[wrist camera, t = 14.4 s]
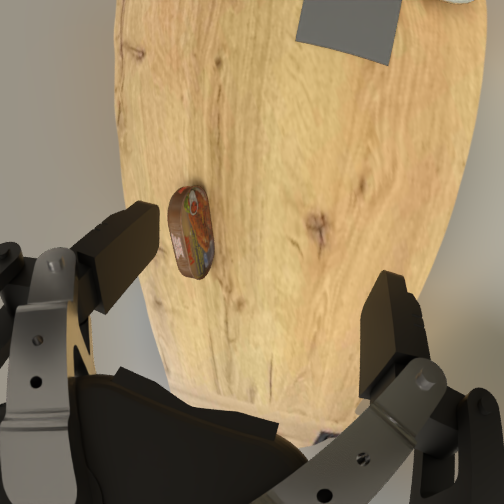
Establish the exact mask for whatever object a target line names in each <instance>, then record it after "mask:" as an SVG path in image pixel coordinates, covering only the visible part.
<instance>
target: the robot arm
mask: <svg viewBox="0 0 504 504" xmlns="http://www.w3.org/2000/svg"><path fill="white" fill-rule="evenodd" d="M159 219H160V210H159V207H158V205H155V204H151V203H147V202H143V201H137V202H135V203H134V204H133V205H131V206H130V207H129V208H127V209H126V210H122V211H120V212H117V213H115V214H112V215H110V216H109V217H108V218H106V219H105V220H104V221H103V222H102V224H99V225H98V226H96V227H95V229H94V230H91V231H90V232H89V233H88V234H87V235H85V236H84V237H83V238H82V239H80V240H79V241H78V242H77V243H76V244H74V245H73V246H72V247H71V248H70V249H68V248H62V247H59V248H53V249H50V250H47V251H45V252H44V253H42V254H41V255H40V256H39V257H38V258H29V257H23V255H22V251H21V248H20V246H19V245H18V244H17V243H15V242H6V243H2V244H0V296H1V299H2V301H3V303H4V305H3V306H2V308H1V309H0V368H1V367H2V366H3V364H4V363H5V361H6V360H7V359H8V357H9V367H8V378H7V399H6V403H3V404H0V504H368V503H369V502H370V501H371V499H372V498H373V497H374V496H375V495H376V494H377V493H378V492H379V491H380V490H381V489H382V487H383V486H384V485H385V484H386V483H387V482H388V481H389V479H390V478H391V477H392V476H393V474H394V473H395V472H396V471H397V470H398V468H399V467H400V466H401V465H402V463H403V462H404V461H405V460H406V458H407V457H408V456H409V454H410V453H411V452H412V450H413V449H414V463H413V476H412V485H411V494H410V502H409V504H504V443H503V433H502V425H501V418H500V412H499V406H498V403H497V402H496V399H495V398H494V396H493V395H492V394H491V393H490V392H489V391H487V390H486V389H483V388H475V389H473V390H472V391H470V392H469V393H468V394H467V395H466V396H465V395H463V394H461V393H459V392H457V391H455V390H453V389H452V388H450V387H448V386H447V380H446V377H445V374H444V373H443V371H442V369H441V368H440V367H439V366H438V365H437V364H436V363H434V362H433V361H431V359H430V353H429V347H428V342H427V336H426V331H425V329H424V322H423V319H422V312H421V308H420V305H419V303H418V302H417V300H416V298H415V297H414V295H413V294H411V293H408V292H407V288H406V283H405V279H404V277H403V276H402V275H399V274H395V273H392V272H389V271H386V270H383V271H382V272H381V273H380V274H379V276H378V278H377V280H376V282H375V284H374V286H373V288H372V290H371V292H370V294H369V296H368V298H367V300H366V302H365V304H364V306H363V309H362V313H361V319H360V380H359V398H364V399H369V400H370V406H369V407H368V408H367V409H366V410H365V411H364V412H363V413H362V414H361V415H360V416H359V417H358V418H357V419H356V420H355V421H354V422H353V423H352V424H351V425H350V426H348V427H347V428H346V429H345V430H344V431H343V432H342V433H341V434H340V435H339V436H337V437H336V438H335V439H334V440H333V441H332V442H331V443H330V444H328V445H327V446H326V447H325V448H324V449H323V450H321V451H320V452H319V453H318V454H317V455H315V456H314V457H313V458H312V459H311V460H309V461H308V460H307V458H306V457H305V456H304V454H302V452H301V451H300V450H299V449H298V448H297V447H295V446H294V445H293V444H292V443H291V442H289V441H288V440H286V439H285V438H283V437H281V436H279V435H278V434H276V433H277V429H278V425H279V423H276V422H272V421H268V420H265V419H261V418H257V417H254V416H250V415H247V414H244V413H240V412H236V411H224V410H214V409H205V408H197V407H192V406H190V405H188V404H186V403H185V402H183V401H182V400H180V399H179V398H177V397H176V396H175V395H173V394H172V393H170V392H169V391H167V390H166V389H164V388H163V387H162V386H160V385H159V384H158V383H156V382H155V381H152V380H150V379H148V378H145V377H143V376H141V375H138V374H136V373H134V372H132V371H130V370H127V369H125V368H123V367H120V368H119V369H118V371H117V373H116V374H115V375H114V376H113V375H104V374H96V370H95V365H94V358H93V345H92V329H91V318H90V314H91V313H92V312H93V310H96V311H98V312H100V313H103V314H105V315H106V314H107V313H108V311H109V310H110V309H111V308H112V307H113V305H114V304H115V303H116V302H117V300H118V299H119V298H120V297H121V296H122V294H123V293H124V292H125V291H126V290H127V288H128V287H129V286H130V285H131V284H132V283H133V281H134V280H135V279H136V278H137V277H138V275H139V274H140V273H141V272H142V271H143V270H144V269H145V267H146V266H147V265H148V264H149V263H150V262H151V260H152V259H153V258H154V257H155V255H156V253H157V251H158V247H159ZM457 451H458V456H459V459H458V460H459V466H458V469H459V470H458V477H457V479H456V481H455V483H454V475H455V453H456V452H457Z"/></svg>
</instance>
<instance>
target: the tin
mask: <svg viewBox="0 0 504 504" xmlns="http://www.w3.org/2000/svg"><path fill="white" fill-rule="evenodd" d="M168 227H169V231H170V236H171V240H172V245H173V249H174V253H175V258H176V262H177V266H178V269H179V271H180V272H181V274H182V275H184V276H186V277H189V278H195V279H197V280H201V279H203V278H204V277H205V276H206V275H207V274H208V272H209V270H210V268H211V265H212V261H213V257H214V238H213V232H212V225H211V218H210V211H209V204H208V198H207V195H206V193H205V191H204V190H203V189H202V188H201V187H199V186H194V187H190V186H186V187H181V188H179V189H178V190H177V191H176V192H175V193H174V195H173V196H172V198H171V200H170V203H169V207H168Z"/></svg>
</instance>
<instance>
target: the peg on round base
mask: <svg viewBox="0 0 504 504" xmlns="http://www.w3.org/2000/svg"><path fill="white" fill-rule="evenodd" d="M441 1H444V2H447V3H452V4H466V3H469V2H471V1H474V0H441Z"/></svg>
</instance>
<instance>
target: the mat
mask: <svg viewBox="0 0 504 504" xmlns="http://www.w3.org/2000/svg"><path fill="white" fill-rule="evenodd" d="M401 1H402V0H304V1H303V6H302V11H301V16H300V21H299V25H298V30H297V35H296V40H295V41H298V42H303V43H308V44H312V45H317V46H321V47H325V48H329V49H333V50H337V51H341V52H345V53H348V54H352V55H355V56H359V57H362V58H365V59H368V60H372V61H375V62H378V63H381V64H384V65H387V66H388V64H389V60H390V55H391V51H392V46H393V42H394V37H395V32H396V27H397V22H398V17H399V12H400V7H401Z"/></svg>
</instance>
